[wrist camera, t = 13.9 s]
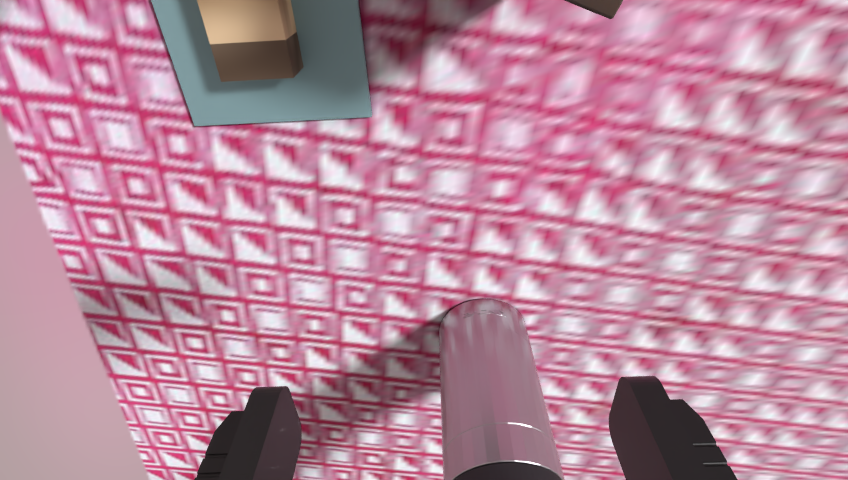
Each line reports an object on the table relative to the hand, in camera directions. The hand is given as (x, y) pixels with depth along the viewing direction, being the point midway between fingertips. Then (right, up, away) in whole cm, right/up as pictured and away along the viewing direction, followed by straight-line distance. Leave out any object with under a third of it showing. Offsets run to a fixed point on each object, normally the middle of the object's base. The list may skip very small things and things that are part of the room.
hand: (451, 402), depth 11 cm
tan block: (-12, +21, +19) cm, 31 cm away
